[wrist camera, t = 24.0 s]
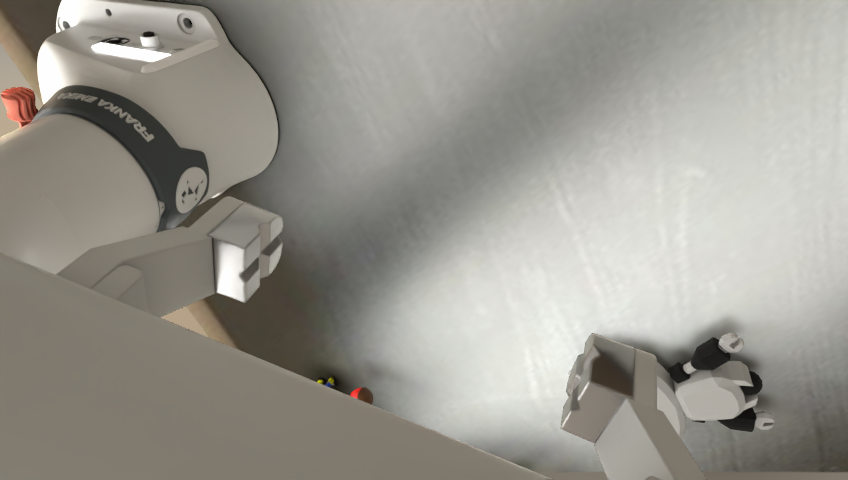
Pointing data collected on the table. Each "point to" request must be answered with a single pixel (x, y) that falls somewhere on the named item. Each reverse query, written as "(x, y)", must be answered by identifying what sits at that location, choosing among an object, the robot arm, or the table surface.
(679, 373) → the robot toy
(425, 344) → the table surface
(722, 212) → the table surface
